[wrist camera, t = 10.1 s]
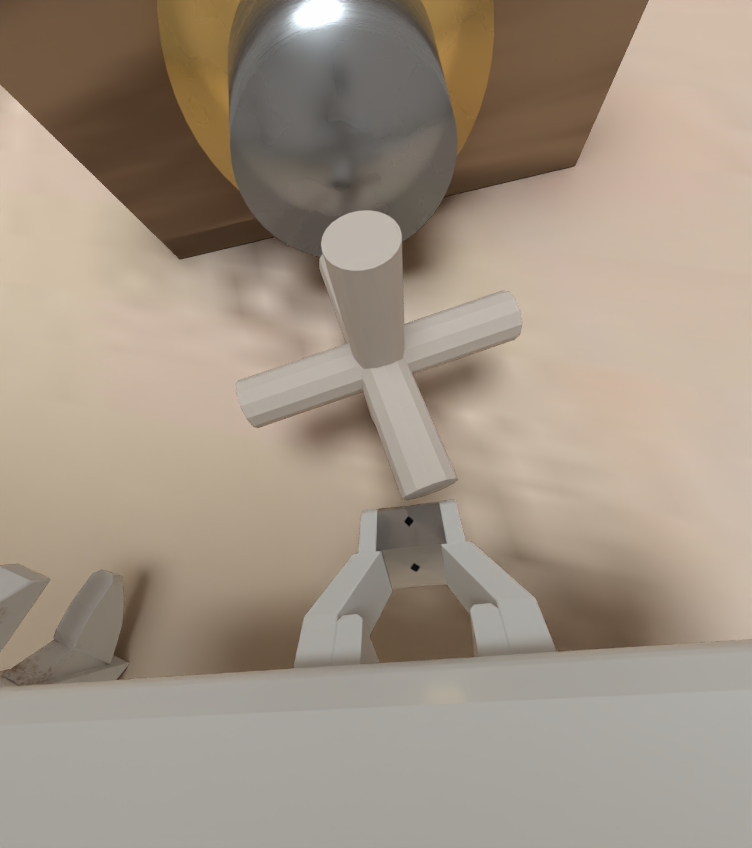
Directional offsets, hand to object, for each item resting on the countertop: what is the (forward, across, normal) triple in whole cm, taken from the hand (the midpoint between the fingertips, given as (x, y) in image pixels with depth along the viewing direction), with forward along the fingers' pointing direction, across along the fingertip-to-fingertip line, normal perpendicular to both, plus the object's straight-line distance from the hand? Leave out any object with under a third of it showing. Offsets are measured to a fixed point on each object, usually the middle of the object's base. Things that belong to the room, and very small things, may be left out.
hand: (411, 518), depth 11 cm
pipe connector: (+7, +1, 0) cm, 7 cm away
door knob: (+14, +1, -7) cm, 15 cm away
